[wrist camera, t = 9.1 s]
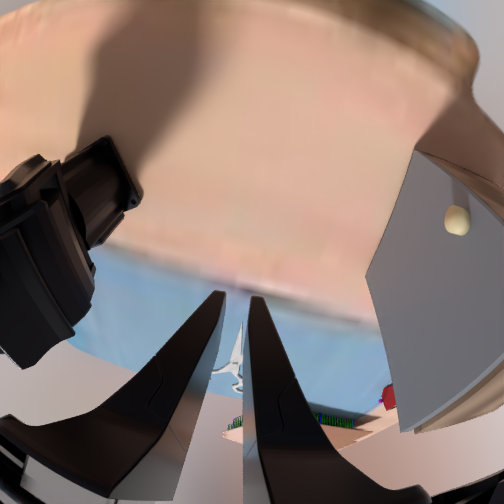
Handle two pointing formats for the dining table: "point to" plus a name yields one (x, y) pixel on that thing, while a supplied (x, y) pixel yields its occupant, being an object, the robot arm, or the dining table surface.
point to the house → (335, 434)
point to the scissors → (234, 363)
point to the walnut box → (500, 378)
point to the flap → (438, 291)
